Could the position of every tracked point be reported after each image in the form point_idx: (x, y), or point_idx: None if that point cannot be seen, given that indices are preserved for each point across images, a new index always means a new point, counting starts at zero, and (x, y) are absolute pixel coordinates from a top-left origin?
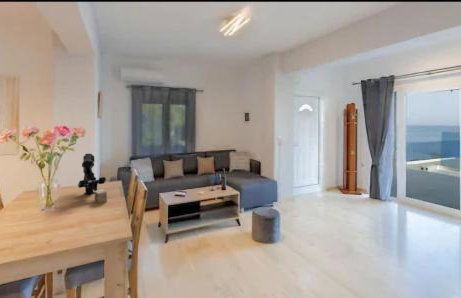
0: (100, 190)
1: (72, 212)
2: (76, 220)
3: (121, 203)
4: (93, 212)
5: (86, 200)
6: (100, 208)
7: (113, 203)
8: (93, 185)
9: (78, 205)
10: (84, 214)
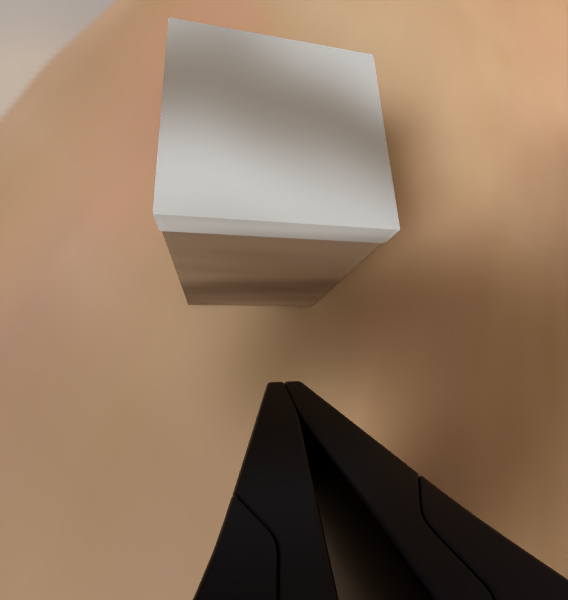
0: (252, 175)
1: (554, 157)
2: (538, 6)
3: (108, 19)
4: (423, 34)
5: None
6: None
7: None
8: (460, 531)
9: (496, 319)
10: (485, 51)
